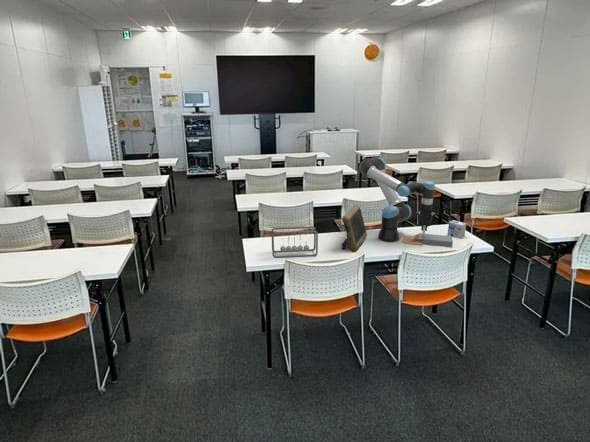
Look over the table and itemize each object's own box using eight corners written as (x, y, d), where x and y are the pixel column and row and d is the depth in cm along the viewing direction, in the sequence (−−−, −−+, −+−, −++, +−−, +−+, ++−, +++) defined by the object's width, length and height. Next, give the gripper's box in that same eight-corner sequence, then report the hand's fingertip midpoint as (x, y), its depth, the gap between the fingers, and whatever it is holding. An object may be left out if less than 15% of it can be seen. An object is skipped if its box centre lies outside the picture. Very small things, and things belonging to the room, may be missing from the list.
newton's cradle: (315, 250, 275) (315, 226, 270) (317, 256, 265) (318, 231, 260) (271, 252, 273) (271, 227, 267) (272, 258, 263) (271, 232, 257)
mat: (401, 243, 287) (401, 242, 287) (403, 235, 301) (403, 235, 301) (422, 245, 283) (422, 244, 283) (422, 237, 297) (422, 237, 297)
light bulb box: (447, 235, 302) (448, 221, 299) (451, 233, 306) (452, 219, 303) (460, 238, 294) (462, 225, 291) (464, 236, 299) (466, 223, 295)
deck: (422, 244, 285) (422, 239, 283) (422, 238, 296) (422, 233, 294) (452, 247, 279) (452, 241, 278) (451, 241, 290) (451, 236, 288)
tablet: (360, 253, 270) (361, 217, 262) (340, 250, 274) (341, 216, 266) (367, 236, 300) (368, 204, 292) (348, 235, 304) (350, 203, 296)
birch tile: (411, 241, 289) (410, 238, 289) (412, 238, 295) (411, 236, 294) (422, 237, 286) (421, 235, 286) (422, 234, 291) (421, 232, 291)
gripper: (417, 204, 279) (413, 235, 287) (436, 205, 276) (433, 237, 283) (417, 201, 286) (414, 232, 294) (436, 202, 283) (432, 234, 290)
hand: (423, 234), depth 289 cm, fingers closed
